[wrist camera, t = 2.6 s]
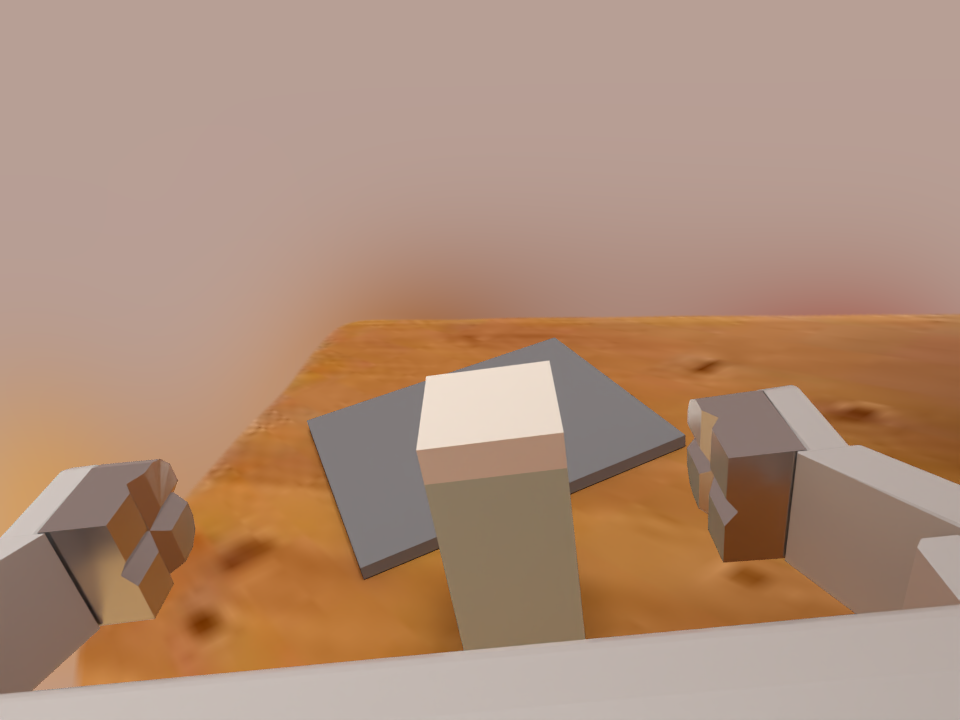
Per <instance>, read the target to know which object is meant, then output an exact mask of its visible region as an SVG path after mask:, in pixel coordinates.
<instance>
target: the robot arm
mask: <svg viewBox="0 0 960 720" xmlns="http://www.w3.org/2000/svg"><path fill="white" fill-rule="evenodd" d="M688 425H689V427H690V429H691V431H692V433H693V435H694V437H695V438H694V440H693V441H692V442H691V444H690V445H689V446H688V447H687V466H688V473H689V480H690V485H691V489H692V492H693V495H694V498H695V500H696V503H697V505H698V508H699V509H701V510H703V511H704V512H706V513H708V530H709V532H710V535H711V537H712V539H713V541H714V543H715V545H716V548H717V550H718V552H719V554H720V556H721V559H722V561H723V562H737V561H751V560H765V559H778V558H785V561H786V562H787V563H789V564H790V565H791V566H793V567H794V568H795V569H797V570H798V571H799V572H801V573H802V574H803V575H805V576H806V577H807V578H809V579H810V580H812V581H813V582H814V583H816V584H817V585H818V586H820V587H821V588H822V589H824V590H825V591H826V592H828V593H829V594H830V595H832V596H833V597H834V598H836V599H837V600H838V601H840V602H841V603H842V604H844V605H845V606H846V607H848V608H849V609H850V610H852V611H853V612H854V613H856V614H851V615H840V616H829V617H818V618H808V619H797V620H787V621H777V622H767V623H757V624H746V625H735V626H725V627H714V628H703V629H692V630H681V631H670V632H660V633H649V634H638V635H627V636H616V637H606V638H595V639H584V640H573V641H562V642H551V643H541V644H530V645H519V646H508V647H497V648H486V649H476V650H465V651H454V652H443V653H433V654H422V655H412V656H401V657H391V658H380V659H370V660H359V661H349V662H338V663H328V664H317V665H307V666H296V667H285V668H275V669H264V670H253V671H242V672H232V673H221V674H210V675H199V676H188V677H178V678H167V679H156V680H145V681H135V682H124V683H113V684H102V685H92V686H81V687H70V688H59V689H48V690H38V691H32V690H33V689H35V688H36V687H37V686H38V685H39V684H40V683H41V682H42V681H43V680H44V679H45V678H47V677H48V676H49V675H50V674H51V673H52V672H53V671H54V670H55V669H56V668H57V667H59V666H60V665H61V664H62V663H63V662H64V661H65V660H66V659H67V658H68V657H69V656H71V655H72V654H73V653H74V652H75V651H76V650H77V649H78V648H79V647H80V646H82V645H83V644H84V643H85V642H86V641H87V640H88V639H89V638H90V637H91V636H92V635H94V634H95V633H96V632H97V631H98V630H99V629H100V627H99V626H102V625H110V624H118V623H125V622H133V621H141V620H149V619H155V618H156V616H157V614H158V612H159V611H160V609H161V607H162V605H163V603H164V601H165V599H166V598H167V596H168V594H169V592H170V590H171V588H172V586H173V584H174V583H173V580H172V578H171V575H170V573H172V572H173V571H174V570H175V569H177V568H178V567H179V566H181V565H182V564H183V563H184V562H186V560H187V558H188V556H189V554H190V552H191V550H192V548H193V542H194V535H195V525H194V519H193V514H192V512H191V509H190V507H189V504H188V502H186V501H185V500H183V499H182V498H181V497H179V496H178V495H176V494H175V493H174V490H175V487H176V484H177V482H178V479H177V478H176V475H175V473H174V472H173V470H172V467H171V465H170V464H169V463H167V462H165V461H163V460H161V459H156V460H146V461H135V462H125V463H115V464H114V463H113V464H103V465H92V466H84V467H76V468H71V469H67V470H64V471H61V472H60V473H59V474H58V476H57V477H56V478H55V479H54V480H53V481H52V482H51V483H50V485H48V486H47V488H46V489H45V490H44V491H43V492H42V493H41V494H40V495H39V496H38V497H37V499H36V500H35V501H34V502H33V503H32V504H31V505H30V506H29V507H28V508H27V509H26V510H25V512H24V513H23V514H22V515H21V516H20V517H19V518H18V519H17V520H16V521H15V522H14V524H13V525H12V526H11V527H10V528H9V529H8V530H7V531H6V532H5V533H4V534H3V536H2V537H1V538H0V720H960V485H958V484H956V483H953V482H951V481H948V480H946V479H944V478H941V477H939V476H936V475H934V474H931V473H929V472H926V471H924V470H921V469H919V468H916V467H914V466H911V465H909V464H906V463H904V462H901V461H899V460H896V459H894V458H891V457H889V456H886V455H884V454H881V453H879V452H876V451H874V450H871V449H869V448H866V447H864V446H861V445H855V446H849V445H848V444H847V443H846V442H845V441H844V439H843V438H842V437H841V436H840V435H839V434H838V433H837V431H836V430H835V429H834V428H833V427H832V426H831V425H830V423H829V422H828V421H827V420H826V419H825V418H824V417H823V415H822V414H821V413H820V412H819V411H818V410H817V408H816V407H815V406H814V405H813V404H812V403H811V402H810V400H809V399H808V398H807V397H806V396H805V395H804V394H803V392H802V391H801V390H800V389H799V388H798V387H796V386H793V385H789V386H782V387H776V388H769V389H762V390H758V391H750V392H743V393H736V394H728V395H721V396H714V397H706V398H699V399H692V400H690V402H689V407H688Z"/></svg>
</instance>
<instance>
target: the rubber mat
mask: <svg viewBox="0 0 960 720" xmlns="http://www.w3.org/2000/svg"><path fill="white" fill-rule="evenodd" d="M542 361H550V366H551V371H552V376H553V381H554V386H555V391H556V396H557V401H558V406H559V411H560V416H561V421H562V426H563V431H564V440H565V450H566V459H567V469H568V478H569V488H570V494H571V493H573V492H576V491H578V490H581V489H583V488H585V487H588V486H590V485H593V484H595V483H597V482H600V481H602V480H605V479H607V478H609V477H612V476H614V475H617V474H619V473H622V472H624V471H626V470H629V469H631V468H634V467H636V466H638V465H641V464H643V463H646V462H648V461H650V460H653V459H655V458H658V457H660V456H662V455H665V454H667V453H670V452H672V451H675V450H677V449H679V448H682V447H684V446H685V435H684V434H683V433H682V432H680V431H679V430H678V429H676V428H675V427H674V426H672V425H671V424H670V423H668V422H667V421H666V420H664V419H663V418H662V417H660V416H659V415H658V414H656V413H655V412H654V411H652V410H651V409H650V408H648V407H647V406H646V405H644V404H643V403H642V402H640V401H639V400H638V399H636V398H635V397H634V396H632V395H631V394H629V393H628V392H627V391H625V390H624V389H623V388H621V387H620V386H619V385H617V384H616V383H615V382H613V381H612V380H611V379H609V378H608V377H607V376H605V375H604V374H603V373H601V372H600V371H599V370H597V369H596V368H595V367H593V366H592V365H591V364H589V363H588V362H587V361H585V360H584V359H583V358H581V357H580V356H579V355H577V354H576V353H575V352H573V351H572V350H571V349H569V348H568V347H567V346H565V345H564V344H563V343H561V342H560V341H559V340H557V339H556V338H552V339H549V340H546V341H543V342H540V343H537V344H534V345H531V346H528V347H525V348H522V349H519V350H516V351H513V352H510V353H507V354H504V355H501V356H498V357H495V358H492V359H489V360H486V361H483V362H480V363H477V364H474V365H471V366H468V367H465V368H462V369H459V370H456V371H453V372H450V373H457V372H465V371H472V370H480V369H488V368H495V367H503V366H511V365H519V364H526V363H534V362H542ZM448 374H449V373H448ZM425 383H426V381H424V382H421V383H418V384H415V385H412V386H409V387H406V388H403V389H400V390H397V391H394V392H391V393H388V394H385V395H382V396H379V397H376V398H373V399H370V400H367V401H364V402H361V403H358V404H355V405H352V406H349V407H346V408H343V409H340V410H337V411H334V412H331V413H328V414H325V415H322V416H319V417H316V418H314V419H311V420H308V421H307V422H308V425H309V428H310V431H311V434H312V437H313V440H314V442H315V445H316V448H317V451H318V453H319V456H320V459H321V462H322V465H323V467H324V470H325V473H326V476H327V478H328V481H329V484H330V487H331V489H332V492H333V495H334V498H335V501H336V503H337V506H338V509H339V512H340V514H341V517H342V520H343V523H344V525H345V528H346V531H347V534H348V537H349V539H350V542H351V545H352V548H353V550H354V553H355V556H356V559H357V561H358V564H359V567H360V570H361V572H362V575H363V578H364V579H366V578H369V577H371V576H373V575H376V574H378V573H381V572H383V571H385V570H388V569H390V568H393V567H395V566H398V565H400V564H402V563H405V562H407V561H410V560H412V559H414V558H417V557H419V556H422V555H424V554H426V553H429V552H431V551H434V550H436V549H438V548H439V544H438V540H437V536H436V532H435V528H434V523H433V519H432V515H431V511H430V507H429V502H428V498H427V494H426V490H425V486H424V481H423V477H422V473H421V469H420V465H419V460H418V456H417V452H416V448H417V440H418V433H419V426H420V419H421V411H422V404H423V397H424V390H425Z"/></svg>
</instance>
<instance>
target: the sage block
mask: <svg viewBox="0 0 960 720" xmlns="http://www.w3.org/2000/svg"><path fill="white" fill-rule="evenodd" d="M416 452H417V456H418V460H419V465H420V469H421V473H422V477H423V481H424V486H425V490H426V494H427V498H428V502H429V507H430V511H431V515H432V519H433V523H434V528H435V532H436V536H437V540H438V544H439V549H440V553H441V557H442V561H443V565H444V570H445V574H446V578H447V582H448V586H449V591H450V595H451V599H452V603H453V607H454V612H455V616H456V620H457V624H458V628H459V633H460V637H461V641H462V645H463V649H464V651H465V650H476V649H486V648H497V647H508V646H519V645H530V644H541V643H551V642H562V641H573V640H584V639H585V632H584V622H583V613H582V603H581V593H580V584H579V574H578V565H577V555H576V545H575V536H574V526H573V517H572V507H571V498H570V488H569V478H568V469H567V459H566V450H565V440H564V431H563V426H562V421H561V416H560V411H559V406H558V401H557V396H556V391H555V386H554V381H553V376H552V371H551V366H550V361H542V362H534V363H526V364H519V365H511V366H503V367H495V368H488V369H480V370H472V371H465V372H457V373H449V374H441V375H434V376H426V383H425V390H424V397H423V404H422V411H421V419H420V426H419V433H418V440H417V448H416Z"/></svg>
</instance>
